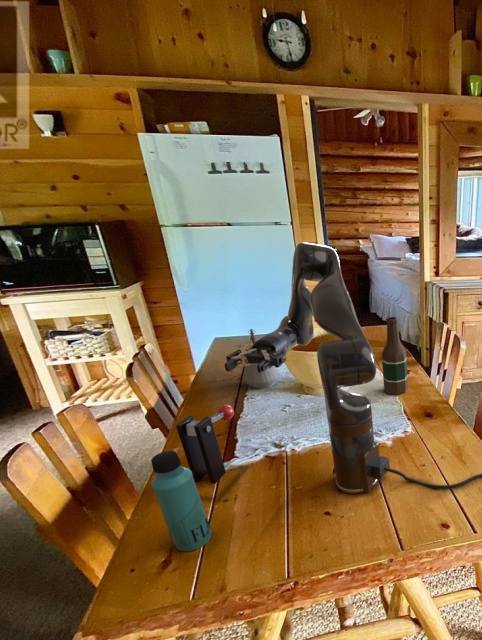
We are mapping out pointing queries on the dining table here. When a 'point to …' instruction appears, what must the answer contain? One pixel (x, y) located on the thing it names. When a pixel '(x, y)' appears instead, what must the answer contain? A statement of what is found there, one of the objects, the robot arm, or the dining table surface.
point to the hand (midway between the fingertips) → (242, 368)
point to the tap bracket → (202, 450)
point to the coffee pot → (259, 379)
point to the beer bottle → (394, 361)
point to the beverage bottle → (180, 502)
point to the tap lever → (212, 418)
